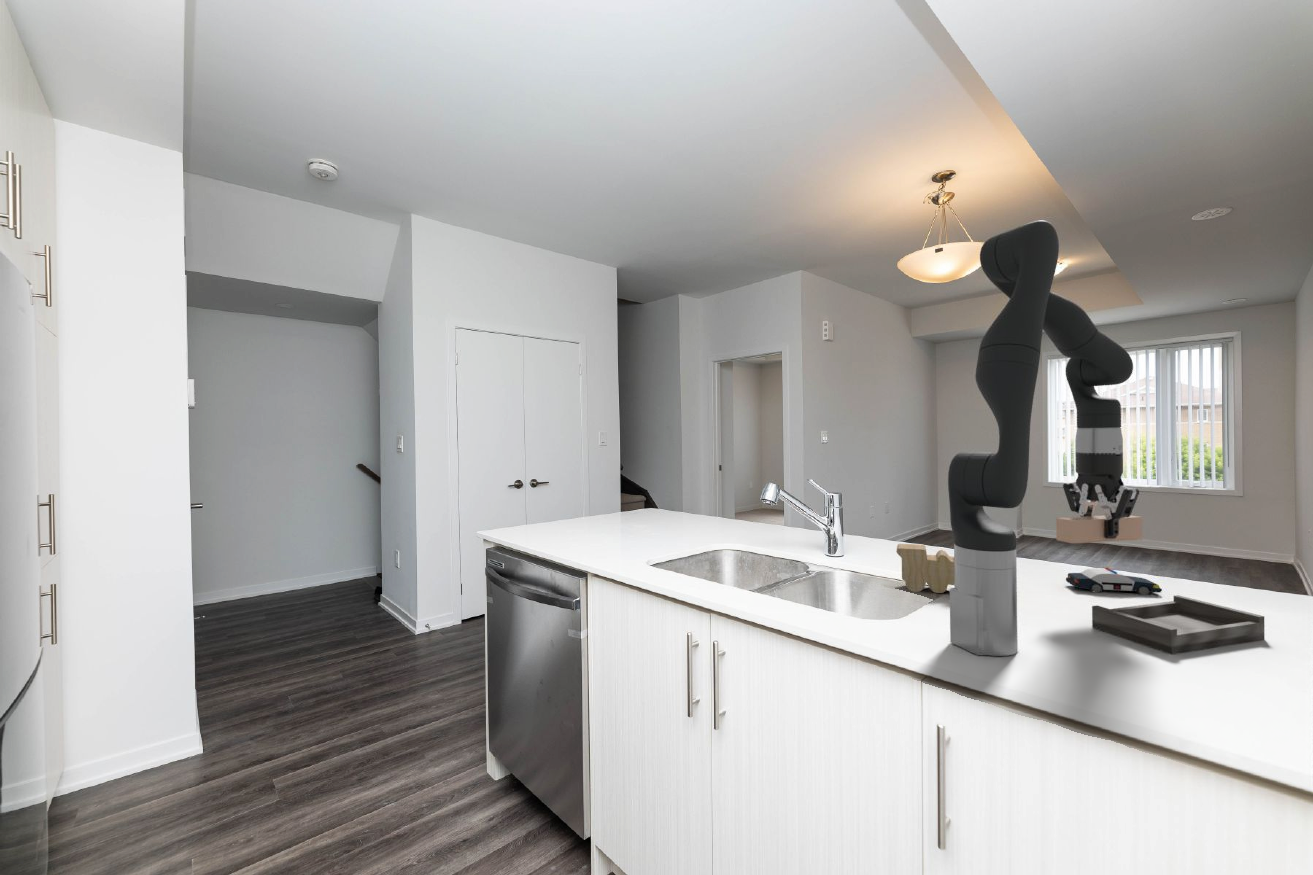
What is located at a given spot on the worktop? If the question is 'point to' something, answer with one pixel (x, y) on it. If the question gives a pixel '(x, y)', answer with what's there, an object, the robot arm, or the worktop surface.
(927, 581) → the toy train
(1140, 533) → the tan rectangular block
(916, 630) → the worktop surface
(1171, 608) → the charcoal tray
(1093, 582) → the toy car
